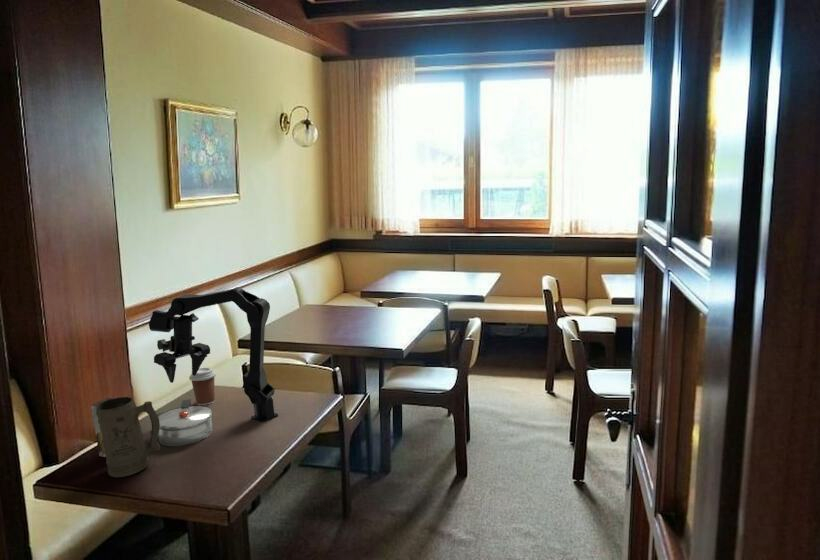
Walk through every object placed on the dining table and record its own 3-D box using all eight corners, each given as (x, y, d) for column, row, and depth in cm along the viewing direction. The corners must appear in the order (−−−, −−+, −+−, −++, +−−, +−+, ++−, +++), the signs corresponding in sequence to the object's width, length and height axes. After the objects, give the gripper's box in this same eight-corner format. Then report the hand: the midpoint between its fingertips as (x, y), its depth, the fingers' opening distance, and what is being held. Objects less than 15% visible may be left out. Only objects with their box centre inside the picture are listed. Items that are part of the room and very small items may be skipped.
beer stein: (106, 482, 172) (95, 412, 169) (104, 467, 182) (94, 400, 178) (166, 467, 179) (157, 399, 176) (162, 454, 189) (153, 389, 185)
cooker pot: (222, 431, 202) (221, 416, 202) (177, 450, 190) (175, 434, 189) (183, 417, 217) (181, 403, 216) (138, 434, 204) (136, 419, 204)
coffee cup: (206, 408, 225) (202, 375, 223) (186, 405, 228) (182, 373, 226) (224, 399, 233) (220, 367, 231) (205, 396, 237) (201, 365, 235)
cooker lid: (211, 424, 195) (210, 417, 194) (153, 434, 190) (152, 426, 190) (212, 399, 217) (211, 393, 217) (160, 407, 213) (159, 400, 212)
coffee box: (137, 451, 192) (130, 399, 189) (120, 460, 186) (112, 407, 183) (115, 447, 196) (108, 396, 193) (97, 456, 190) (90, 404, 187)
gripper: (188, 323, 222) (188, 366, 225) (142, 334, 206) (142, 380, 209) (211, 329, 217) (211, 373, 220) (165, 341, 201) (165, 388, 204)
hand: (182, 378), depth 213 cm, fingers open, 9 cm apart
